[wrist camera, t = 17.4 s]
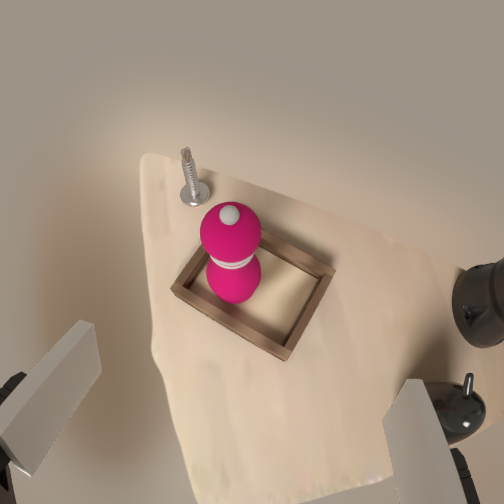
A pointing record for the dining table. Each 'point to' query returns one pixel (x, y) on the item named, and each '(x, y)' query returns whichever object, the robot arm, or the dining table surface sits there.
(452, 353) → the dining table surface
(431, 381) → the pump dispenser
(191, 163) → the screw
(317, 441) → the dining table surface
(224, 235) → the pepper mill
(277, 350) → the walnut tray
